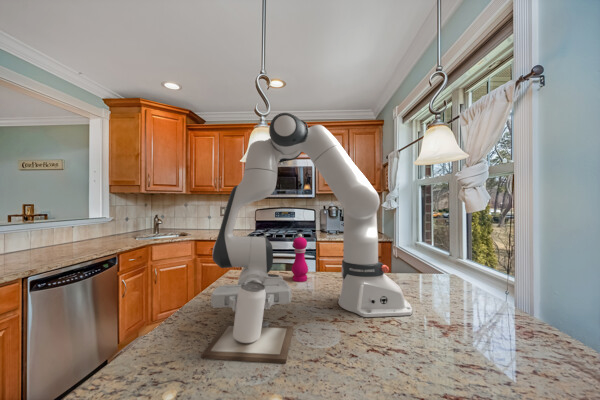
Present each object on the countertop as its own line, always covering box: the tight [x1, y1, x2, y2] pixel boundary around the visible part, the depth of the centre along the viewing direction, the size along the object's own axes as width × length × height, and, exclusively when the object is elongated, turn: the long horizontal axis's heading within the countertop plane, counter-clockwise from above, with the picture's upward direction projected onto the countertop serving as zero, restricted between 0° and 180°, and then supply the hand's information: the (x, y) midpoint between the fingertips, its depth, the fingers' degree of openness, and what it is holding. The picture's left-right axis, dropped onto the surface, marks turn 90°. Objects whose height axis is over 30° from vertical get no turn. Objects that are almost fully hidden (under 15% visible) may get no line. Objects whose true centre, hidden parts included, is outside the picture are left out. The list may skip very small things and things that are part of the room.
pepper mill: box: [291, 233, 309, 283], centre depth 108 cm, size 7×7×20 cm
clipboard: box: [200, 321, 294, 364], centre depth 59 cm, size 18×14×2 cm
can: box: [233, 282, 266, 344], centre depth 58 cm, size 6×6×12 cm
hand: (251, 306), depth 58 cm, fingers closed on can, 6 cm apart
